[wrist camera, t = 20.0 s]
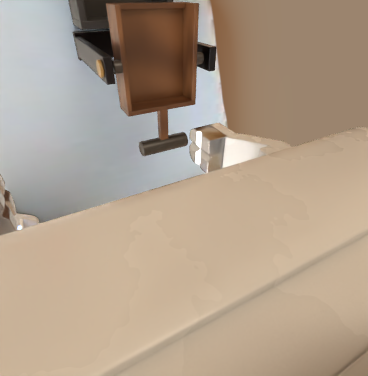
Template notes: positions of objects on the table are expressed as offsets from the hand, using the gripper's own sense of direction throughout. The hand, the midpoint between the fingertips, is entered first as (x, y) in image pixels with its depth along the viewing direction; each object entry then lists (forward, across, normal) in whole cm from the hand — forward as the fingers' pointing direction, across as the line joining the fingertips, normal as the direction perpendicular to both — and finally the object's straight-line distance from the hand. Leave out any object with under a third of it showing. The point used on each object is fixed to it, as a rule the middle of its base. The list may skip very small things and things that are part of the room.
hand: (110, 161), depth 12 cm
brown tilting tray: (+20, -10, +3) cm, 22 cm away
